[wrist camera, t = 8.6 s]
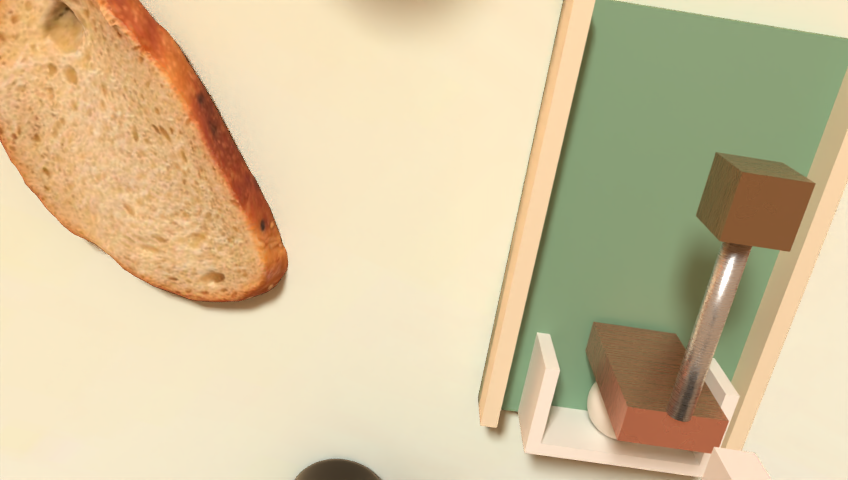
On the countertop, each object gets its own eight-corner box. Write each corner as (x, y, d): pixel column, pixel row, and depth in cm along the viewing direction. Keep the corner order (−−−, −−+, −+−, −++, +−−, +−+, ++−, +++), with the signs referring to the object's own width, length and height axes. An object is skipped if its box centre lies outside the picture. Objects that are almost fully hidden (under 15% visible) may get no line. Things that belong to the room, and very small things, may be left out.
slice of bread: (280, 309, 45) (267, 339, 41) (-13, 242, 44) (-52, 268, 40) (336, 18, 38) (326, 25, 35) (-8, -71, 37) (-54, -73, 33)
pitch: (719, 431, 47) (750, 484, 42) (478, 396, 46) (482, 446, 42) (865, 41, 38) (925, 54, 33) (564, -8, 37) (582, -2, 32)
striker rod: (666, 362, 43) (727, 475, 34) (585, 350, 43) (624, 460, 34) (742, 128, 38) (840, 187, 29) (650, 114, 38) (717, 168, 29)
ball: (660, 363, 43) (638, 400, 46) (595, 353, 43) (576, 391, 46) (672, 421, 40) (647, 457, 43) (601, 411, 40) (581, 448, 43)
